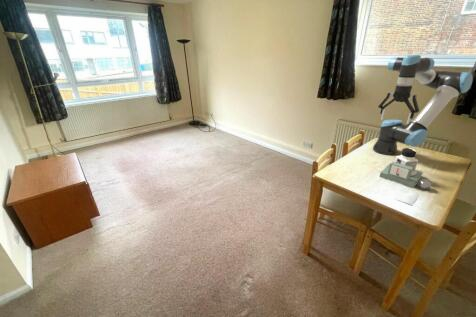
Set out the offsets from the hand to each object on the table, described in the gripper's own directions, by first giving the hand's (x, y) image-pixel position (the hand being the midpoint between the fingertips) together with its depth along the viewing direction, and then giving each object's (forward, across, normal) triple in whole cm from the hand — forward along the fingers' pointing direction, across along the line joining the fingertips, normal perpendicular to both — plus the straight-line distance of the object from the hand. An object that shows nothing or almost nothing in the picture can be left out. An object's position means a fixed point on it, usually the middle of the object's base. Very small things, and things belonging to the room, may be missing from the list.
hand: (394, 121), depth 135 cm
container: (+25, +13, -9) cm, 29 cm away
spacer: (+29, +25, -16) cm, 41 cm away
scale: (+29, +13, -11) cm, 33 cm away
